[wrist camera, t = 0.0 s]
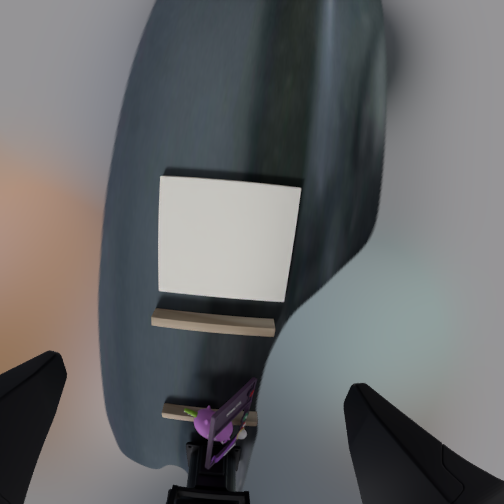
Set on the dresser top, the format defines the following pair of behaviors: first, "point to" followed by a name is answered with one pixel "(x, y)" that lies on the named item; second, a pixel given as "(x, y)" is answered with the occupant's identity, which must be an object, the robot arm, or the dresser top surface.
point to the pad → (226, 237)
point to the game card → (224, 421)
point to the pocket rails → (217, 326)
